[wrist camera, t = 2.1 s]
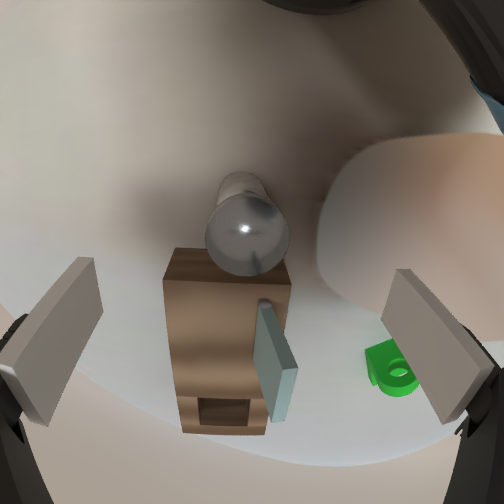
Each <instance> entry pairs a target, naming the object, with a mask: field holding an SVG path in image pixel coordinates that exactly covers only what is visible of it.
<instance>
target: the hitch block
mask: <svg viewBox="0 0 504 504" xmlns="http://www.w3.org/2000/svg"><path fill="white" fill-rule="evenodd" d="M163 292H164V303H165V313H166V323H167V332H168V341H169V349H170V356H171V364H172V371H173V378H174V384H175V391H176V397H177V403H178V409H179V415H180V420H181V426H182V431H183V433H193V434H210V435H264V434H265V430H266V425H267V420H268V415H269V413H268V410H267V406H266V403H265V400H264V396H263V393H262V389H261V386H260V383H259V379H258V376H257V372H256V369H255V365H254V363H253V353H254V344H255V334H256V324H257V314H258V304H259V301H260V300H261V299H267V300H270V301H271V303H272V304H271V305H272V308H273V310H274V312H275V315H276V317H277V319H278V322H279V324H280V326H281V329H282V331H283V333H284V329H285V323H286V317H287V310H288V304H289V298H290V292H291V282H290V279H289V275H288V272H287V269H286V266H285V263H284V260H283V258H282V260H281V261H280V262H279V263H278V264H277V265H276V266H275V267H273V268H272V269H271V270H269V271H267V272H265V273H262V274H259V275H255V276H238V275H234V274H231V273H229V272H226V271H225V270H223V269H221V268H220V267H219V266H218V265H217V264H216V263H215V262H214V261H213V260H212V258H211V257H210V255H209V253H208V250H207V249H191V248H175V250H174V252H173V255H172V257H171V260H170V262H169V265H168V267H167V270H166V272H165V275H164V277H163Z"/></svg>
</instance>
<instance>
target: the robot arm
mask: <svg viewBox="0 0 504 504" xmlns="http://www.w3.org/2000/svg"><path fill="white" fill-rule="evenodd" d="M263 1H265V2H267V3H269V4H272V5H274V6H277V7H280V8H283V9H286V10H289V11H293V12H298V13H304V14H312V15H332V14H340V13H344V12H348V11H351V10H354V9H356V8H358V7H360V6H362V5H364V4H365V3H367V2H368V1H369V0H263ZM418 1H419V2H420V3H421V4H422V6H423V7H424V8H425V9H426V10H427V12H428V13H429V14H430V16H431V17H432V18H433V19H434V21H435V22H436V23H437V25H438V26H439V27H440V29H441V30H442V32H443V33H444V34H445V36H446V37H447V39H448V40H449V42H450V43H451V44H452V46H453V47H454V49H455V51H456V52H457V54H458V55H459V57H460V58H461V60H462V61H463V63H464V65H465V66H466V68H467V70H468V71H469V73H470V78H471V83H472V85H473V87H474V88H475V90H476V91H477V93H478V94H479V95H480V96H481V97H482V98H483V99H484V101H485V102H486V104H487V106H488V108H489V110H490V111H491V113H492V115H493V117H494V119H495V121H496V123H497V125H498V127H499V129H500V130H501V132H502V133H503V135H504V0H418ZM102 314H103V307H102V302H101V297H100V292H99V287H98V282H97V276H96V271H95V265H94V258H90V257H78V258H77V259H76V260H75V261H74V262H73V263H72V264H71V265H70V266H69V268H68V269H67V270H66V271H65V272H64V273H63V274H62V275H61V276H60V278H59V279H58V280H57V281H56V282H55V283H54V285H53V286H52V287H51V288H50V289H49V290H48V292H47V293H46V294H45V295H44V296H43V298H42V299H41V300H40V301H39V302H38V304H37V305H36V306H35V307H34V308H33V310H32V311H31V312H30V313H29V314H24V315H23V316H21V317H20V318H18V319H17V320H15V322H14V323H13V324H12V326H11V327H10V328H9V329H8V332H6V333H5V334H4V336H3V339H1V340H0V504H54V503H53V501H52V499H51V496H50V494H49V492H48V490H47V488H46V485H45V483H44V481H43V479H42V476H41V474H40V471H39V469H38V466H37V464H36V461H35V459H34V456H33V453H32V450H31V448H30V445H29V442H28V439H27V436H26V433H25V429H24V426H23V423H22V422H21V420H20V418H19V417H20V415H21V413H22V411H24V413H25V415H26V416H27V418H28V419H29V421H31V422H34V423H37V424H40V425H43V426H46V427H48V425H49V423H50V420H51V418H52V416H53V413H54V411H55V409H56V407H57V404H58V402H59V399H60V397H61V395H62V393H63V391H64V388H65V387H66V384H67V382H68V380H69V378H70V376H71V373H72V372H73V370H74V368H75V365H76V363H77V361H78V359H79V357H80V355H81V353H82V351H83V349H84V347H85V346H86V344H87V342H88V340H89V338H90V336H91V334H92V332H93V330H94V328H95V326H96V325H97V323H98V321H99V319H100V317H101V315H102ZM381 320H382V322H383V323H384V325H385V327H386V328H387V330H388V331H389V333H390V335H391V336H392V338H393V339H394V341H395V343H396V344H397V346H398V348H399V349H400V351H401V353H402V354H403V356H404V358H405V359H406V361H407V363H408V364H409V366H410V368H411V369H412V371H413V373H414V375H415V376H416V378H417V380H418V382H419V383H420V385H421V387H422V389H423V390H424V392H425V394H426V396H427V397H428V399H429V401H430V403H431V405H432V407H433V408H434V410H435V412H436V414H437V416H438V418H439V420H440V421H441V423H442V425H443V424H446V423H449V422H452V421H455V420H457V419H458V418H459V417H460V415H461V414H462V413H463V411H464V410H465V409H466V411H467V412H468V414H469V415H468V416H467V417H466V419H465V420H464V421H463V422H462V423H461V425H460V426H459V427H458V428H457V430H456V431H455V433H454V434H455V435H457V434H458V432H459V431H460V430H461V429H463V431H462V433H461V435H460V436H461V441H460V446H459V450H458V454H457V458H456V462H455V466H454V469H453V473H452V477H451V480H450V484H449V487H448V490H447V493H446V496H445V499H444V502H443V504H504V368H502V369H501V368H500V366H499V365H498V364H497V363H496V361H495V360H494V359H493V358H492V356H491V355H490V354H489V353H488V351H487V350H486V349H485V348H484V346H482V344H481V343H480V342H479V340H476V337H475V336H474V335H473V334H472V332H471V331H470V330H469V329H467V328H466V327H465V326H463V325H462V324H461V323H459V322H458V321H457V319H456V318H455V317H454V316H453V315H452V314H451V313H450V312H449V310H448V309H447V308H446V307H445V306H444V305H443V304H442V303H441V302H440V300H439V299H438V298H437V297H436V296H435V295H434V294H433V293H432V292H431V291H430V290H429V289H428V288H427V287H426V285H425V284H424V283H423V282H422V281H421V280H420V279H419V278H418V277H417V276H416V275H415V274H414V273H413V272H412V271H411V270H410V269H396V273H395V276H394V280H393V283H392V286H391V289H390V293H389V296H388V299H387V302H386V305H385V308H384V311H383V314H382V317H381Z"/></svg>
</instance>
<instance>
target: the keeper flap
mask: <svg viewBox="0 0 504 504" xmlns="http://www.w3.org/2000/svg"><path fill="white" fill-rule="evenodd" d="M271 304H272V303H271V301H270V300H267V299H261V300H260V301H259V304H258V314H257V324H256V334H255V344H254V353H253V363H254V365H255V369H256V372H257V376H258V379H259V383H260V386H261V389H262V393H263V396H264V400H265V403H266V406H267V410H268V413H269V417H270V420H271V423H275V422H281V421H285V417H286V414H287V410H288V406H289V403H290V399H291V395H292V391H293V387H294V383H295V380H296V376H297V371H298V366H297V363H296V361H295V359H294V356H293V354H292V352H291V350H290V347H289V345H288V343H287V340H286V338H285V336H284V333H283V331H282V329H281V326H280V324H279V322H278V319H277V317H276V315H275V312H274V310H273V308H272V305H271Z"/></svg>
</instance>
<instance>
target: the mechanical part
mask: <svg viewBox="0 0 504 504" xmlns="http://www.w3.org/2000/svg"><path fill="white" fill-rule="evenodd" d="M365 353H366V360H367V367H368V375H369V379H370V381H371V383H372V385H373V386H374V385H377V384H378V386H379V388H380V389H381V391H382V392H384V393H385V394H387V395H389V396H393V397H401V396H405V395H408V394H410V393H412V392H413V391H414V390H415V389H416V388H417V387H418V385H419V382H418V380H417V378H416V376H415V375H414V373H413V371H412V369H411V368H410V366H409V364H408V363H407V361H406V359H405V358H404V356H403V354H402V353H401V351H400V349H399V348H398V346H397V344H396V343H395V341H394V339H393V338H392V339H390V340H387V341H385V342H383V343H380V344H378V345H375V346H373V347H370V348H367V349H365ZM405 372H407V373H406V374H405V375H403V376H399V375H401V374H403V373H405ZM396 376H399V377H396Z"/></svg>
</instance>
